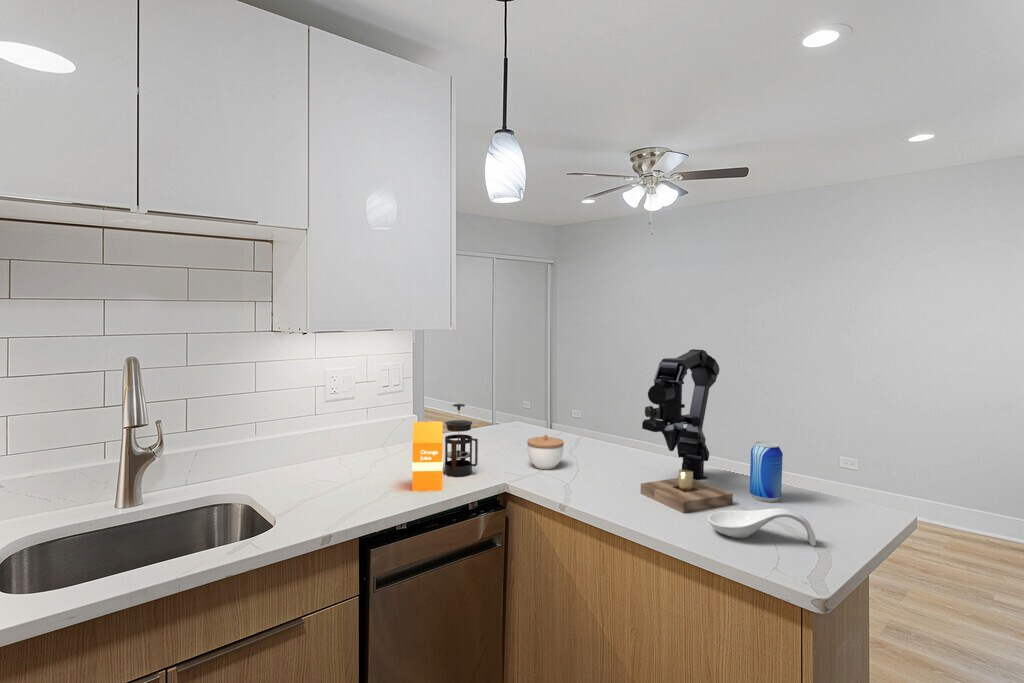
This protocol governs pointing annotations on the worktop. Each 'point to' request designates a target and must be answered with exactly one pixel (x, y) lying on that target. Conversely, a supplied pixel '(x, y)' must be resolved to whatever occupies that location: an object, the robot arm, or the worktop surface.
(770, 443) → the beer can
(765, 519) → the spoon rest
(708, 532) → the worktop surface
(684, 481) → the brass sleeve
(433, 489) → the orange juice
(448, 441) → the french press
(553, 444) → the lidded bowl
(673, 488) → the walnut jig
